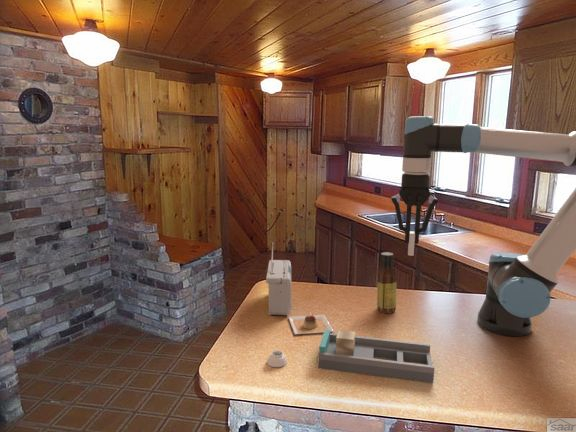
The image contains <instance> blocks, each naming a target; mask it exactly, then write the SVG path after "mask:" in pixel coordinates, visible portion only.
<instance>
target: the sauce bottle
mask: <svg viewBox="0 0 576 432" xmlns="http://www.w3.org/2000/svg"><path fill="white" fill-rule="evenodd" d="M394 256H395V255H394V253H393V252H389V251H386V252H381V253H380V258H381V259H380V260H381V264H380V268H379V269H378V271H377V280H376V281H377V283H376V285H377V288H376V289H377V290H376V292H377V293H376V299H377V301H376V305H377V311H378V312H381V313H383V314H393V313H395V312H396V310H397V309H396V308H397V274H396V272H395V269H394Z"/></svg>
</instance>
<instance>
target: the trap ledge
mask: <svg viewBox="0 0 576 432" xmlns="http://www.w3.org/2000/svg"><path fill="white" fill-rule="evenodd" d="M323 332H324V333H322V337H321V339H320V343H319V347H318V348H319V349H318V350H319V351H318V361H317V362H318V369H323V370H328V371H338V372H345V373H351V374H352V373H353V374H361V375H368V376H376V377H383V378H392V379H400V380H406V381H407V380H408V381H413V382H414V381H416V382H423V383H429V384H433V383H434V377H435V365H433V361H432V354H431V344H430V343H425V342H413V341H406V340H398V339H387V338H379V337H378V338H377V337H370V336H369V337H368V336H362V335H361V336H359V335H355V349H354V355H353V356H350V355H342V354H336V337H337V334H338V333H334V332H330V330H328V329H327V328H325V329H324V331H323Z"/></svg>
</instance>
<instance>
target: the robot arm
mask: <svg viewBox="0 0 576 432" xmlns="http://www.w3.org/2000/svg"><path fill="white" fill-rule="evenodd" d="M403 133H404V134H403V154H402V155H403V157H402V168H401V169H402V172H403V173H402V174H401V182H400V183H401V186H400V190H399V191H398V193H397V194H395V195H393V196H391V202H392V203H393V205H394V208H395V213H396V218H397V223H398V228H399V231H402V232H404V243H405V244H408V246H407V255H408V256H412V257H413V256H415V255H414V254H415V245H419V243H420V241H419V240H420V238H419V237H420V233H424V232H426V231H427V228H428V226H429V223H430V220H431V217H432V213H433V210H434V208H435V206H437V203H439V199H438V198H437V197H434V196H433V195H431V194H432V193H431V191H430V178H431V175H430V174H429V173H430V172H431V166H432V153H433V152H435V153H438V152H440V153H463V154H466V153H476V154H486V155H493V156H503V157H504V156H505V157H514V158H523V159H532V160H542V161H552V162H562V163H563V164H564V165H565V166H566V167H574V168H576V131H571V132H570V133H569V134H567V133H566V134H564V133H555V132H554V133H553V132H545V131H544V132H543V131H533V130H531V131H530V130H519V129H518V130H517V129H510V128H509V129H508V128H497V127H484V126H480V124H474V123H441V124H440V123H435V118H434V117H433V116H424V115H423V116H420V115H419V116H417V115H416V116H415V115H414V116H409V117H407V118H406V119H405V124H404V132H403ZM401 199H402V201H403V203H404V204H405V205H406V212H405V213H406V214H405V225H404V223H403V217H402V212H401V208H400V202H401ZM427 201H428V206H427V209H426V213H424V214H425V215H424V218H423V221H422V224H421V216H422V215H421V213H422V206H423V205H424V204H425V203H426V202H427ZM413 206H414V207H415V217H414V231H411V221H412V209H413V208H412V207H413ZM575 251H576V187H575V188H574V190H573V191H572V192H571V193H570V195H569V197H567V199H566V200H565V201H564V203H563V205H561V207H560V208H559V210H558V211H557V213H556V214H554V216H553V218H552V219H551V220H550V222H549V223H548V224H547V226H546V227H545V228H544V229H543V231H542V232H541V234H539V236H538V238H537V240H535V241H534V243H532V246H531V247H530V248H529V250H528V251H527V253H525V254H521V253H520V254H519V253H512V252H494V253H492V254H490V257H489V261H488V271H487V282H486V283H487V284H486V291H485V292H486V293H485V299H484V301H483V303H482V305H481V307H480V309H479V311H478V312H477V320H476V321H477V324H479V326H480V327H482V328H483V329H485V330H487V331H489V332H492V333H496V334H499V335H503V336H510V337H523V336H524V337H525V336H527V335H529V334H530V333H531V332H532V328H533V327H532V325H533V323H532V322H533V321H532V319H531V318H534V317H537V316H540V315H542V314H543V313H544V312H545V311H546V310H547V309H548V308H549V306H550V304H551V293H552V291H553V290H554V289H555V287H556V286H557V285H558V284H559V279H558V272H559V271H560V270H561V269H562V267H563V266H564V265H565V264H566V263H567V261H568V260H569V259H570V257H571V256H572V255H573V254H574V253H575Z"/></svg>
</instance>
